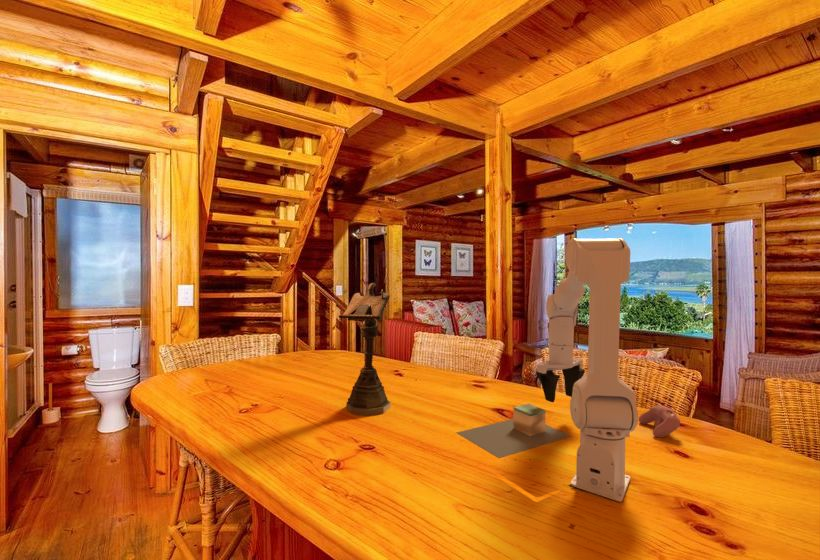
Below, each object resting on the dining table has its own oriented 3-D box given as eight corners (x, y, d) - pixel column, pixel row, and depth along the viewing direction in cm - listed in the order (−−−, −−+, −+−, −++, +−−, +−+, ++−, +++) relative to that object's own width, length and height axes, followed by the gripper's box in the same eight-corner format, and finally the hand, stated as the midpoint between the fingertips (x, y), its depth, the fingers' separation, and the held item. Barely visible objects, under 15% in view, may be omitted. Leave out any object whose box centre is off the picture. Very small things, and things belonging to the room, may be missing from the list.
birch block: (529, 435, 86) (530, 413, 86) (513, 428, 90) (513, 407, 90) (545, 431, 88) (545, 410, 88) (528, 424, 93) (528, 403, 93)
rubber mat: (499, 461, 75) (499, 458, 75) (456, 435, 87) (456, 432, 87) (571, 438, 86) (571, 435, 86) (524, 418, 98) (524, 415, 98)
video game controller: (672, 446, 86) (688, 420, 86) (652, 435, 87) (668, 409, 86) (653, 429, 96) (667, 405, 95) (635, 420, 97) (649, 396, 96)
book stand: (378, 425, 92) (380, 281, 92) (330, 418, 96) (332, 280, 96) (400, 404, 108) (402, 280, 108) (358, 399, 112) (360, 280, 112)
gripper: (566, 339, 102) (565, 390, 102) (527, 343, 94) (527, 398, 94) (590, 343, 95) (589, 397, 96) (551, 348, 88) (550, 407, 88)
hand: (560, 398), depth 95 cm, fingers open, 7 cm apart
